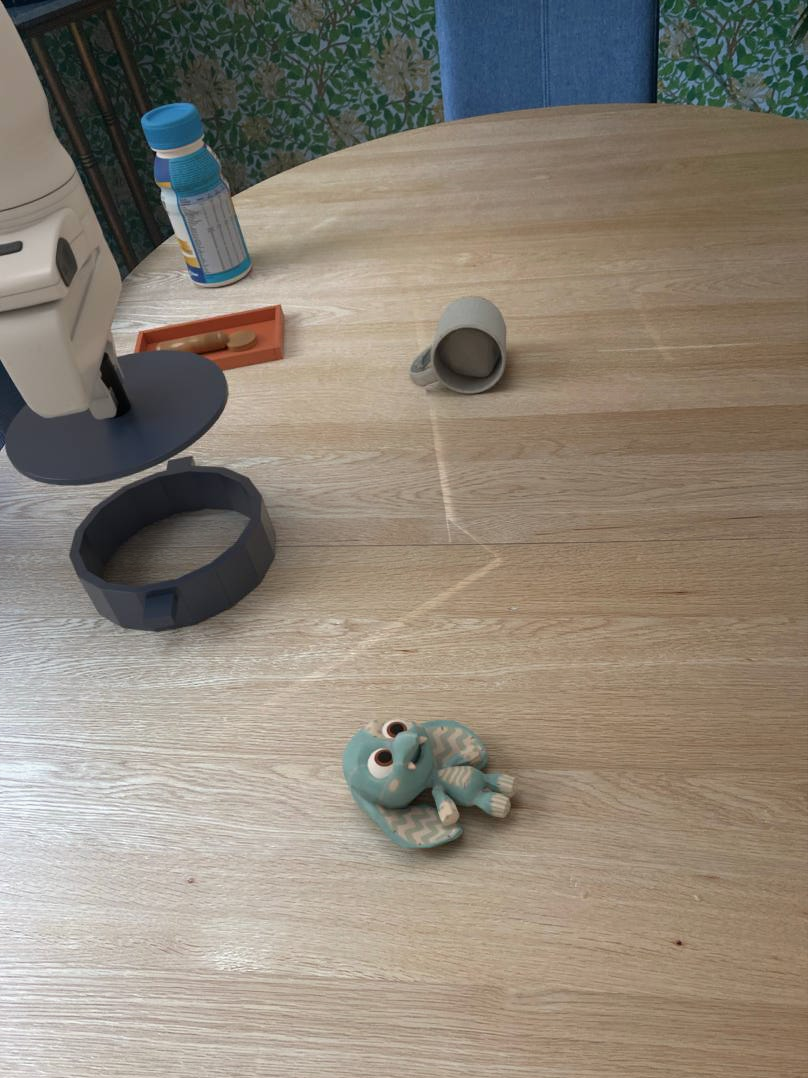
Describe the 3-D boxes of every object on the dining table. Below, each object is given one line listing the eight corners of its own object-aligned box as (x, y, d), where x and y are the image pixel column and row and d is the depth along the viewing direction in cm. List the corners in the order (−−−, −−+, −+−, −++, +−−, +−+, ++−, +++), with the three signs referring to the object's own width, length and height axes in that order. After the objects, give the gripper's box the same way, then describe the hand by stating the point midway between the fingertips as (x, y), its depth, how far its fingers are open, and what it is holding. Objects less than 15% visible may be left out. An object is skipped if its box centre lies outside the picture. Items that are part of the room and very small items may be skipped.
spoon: (157, 368, 117) (151, 352, 115) (160, 352, 119) (154, 337, 118) (257, 348, 116) (252, 333, 115) (258, 333, 119) (253, 318, 118)
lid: (-10, 512, 75) (-50, 448, 71) (33, 386, 87) (2, 325, 83) (226, 465, 75) (200, 399, 71) (235, 345, 87) (213, 283, 83)
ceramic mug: (510, 348, 110) (500, 282, 104) (510, 390, 104) (500, 322, 99) (415, 361, 111) (400, 296, 106) (409, 403, 105) (393, 336, 100)
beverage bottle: (235, 290, 129) (180, 125, 115) (179, 289, 132) (118, 127, 117) (265, 259, 134) (216, 97, 120) (210, 258, 137) (156, 99, 123)
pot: (75, 673, 84) (49, 631, 80) (111, 509, 99) (90, 468, 96) (274, 636, 84) (257, 592, 80) (279, 477, 99) (264, 435, 96)
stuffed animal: (494, 834, 61) (308, 781, 63) (488, 890, 66) (317, 840, 68) (538, 699, 68) (369, 655, 70) (530, 760, 73) (373, 717, 75)
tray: (135, 391, 115) (128, 375, 113) (145, 346, 122) (138, 331, 120) (284, 363, 114) (279, 346, 113) (285, 320, 122) (280, 303, 120)
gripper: (15, 179, 77) (90, 342, 87) (-50, 305, 63) (49, 484, 73) (96, 163, 77) (163, 328, 87) (50, 286, 63) (135, 467, 72)
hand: (111, 400), depth 80 cm, fingers closed on lid, 2 cm apart
